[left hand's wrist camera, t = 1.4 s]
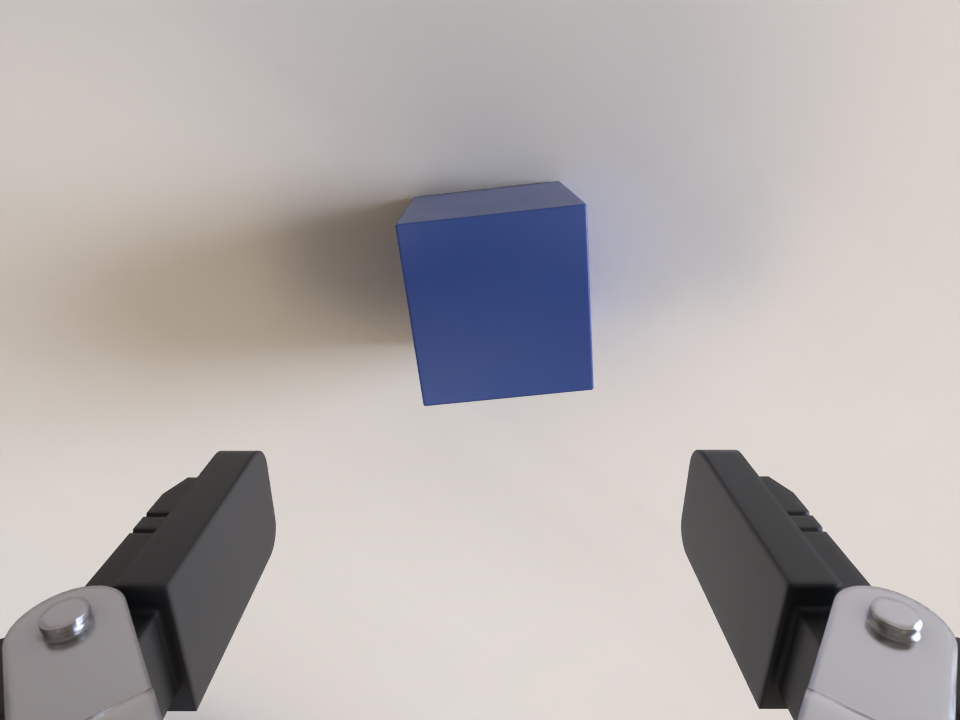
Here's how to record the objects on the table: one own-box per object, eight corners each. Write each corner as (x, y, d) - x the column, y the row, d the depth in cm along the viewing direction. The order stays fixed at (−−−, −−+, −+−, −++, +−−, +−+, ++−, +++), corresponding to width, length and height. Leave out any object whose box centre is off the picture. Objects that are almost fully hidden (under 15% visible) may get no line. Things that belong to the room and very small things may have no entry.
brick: (434, 342, 20) (423, 407, 16) (413, 196, 18) (394, 224, 14) (567, 328, 20) (593, 390, 16) (560, 180, 18) (587, 203, 14)
